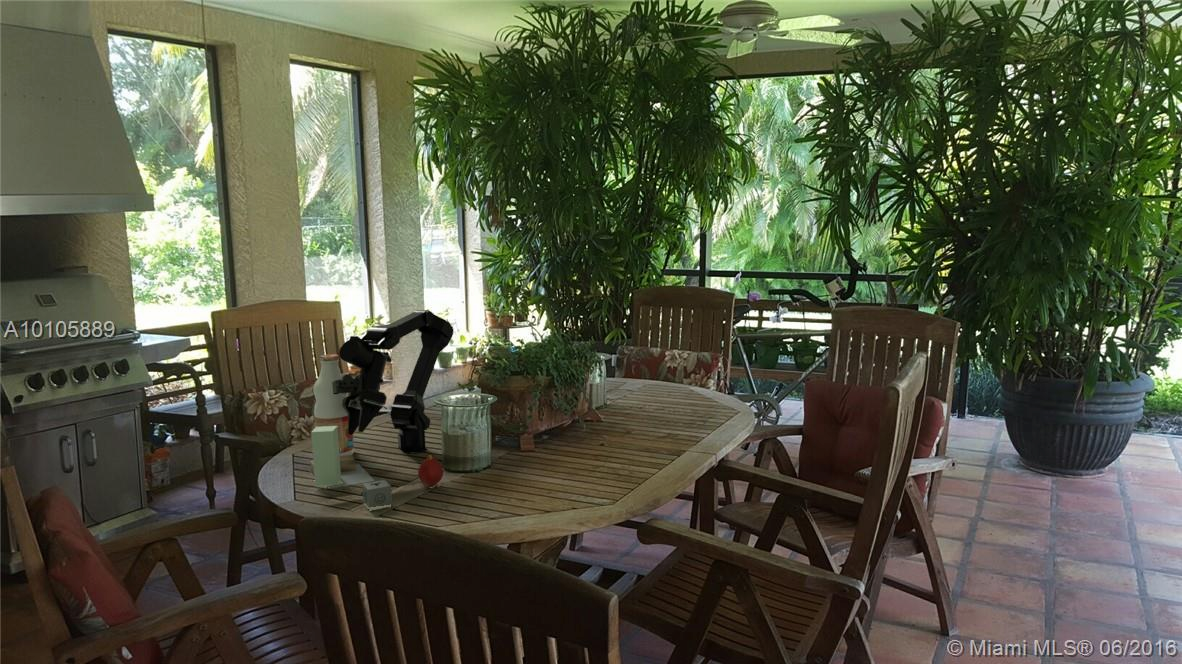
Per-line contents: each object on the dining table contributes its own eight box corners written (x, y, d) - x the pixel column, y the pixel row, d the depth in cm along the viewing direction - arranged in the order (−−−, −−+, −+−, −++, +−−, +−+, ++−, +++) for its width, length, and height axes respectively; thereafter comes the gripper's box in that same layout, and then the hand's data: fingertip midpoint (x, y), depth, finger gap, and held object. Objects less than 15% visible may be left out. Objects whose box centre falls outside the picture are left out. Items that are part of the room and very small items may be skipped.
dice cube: (385, 500, 188) (384, 479, 187) (391, 507, 183) (390, 485, 182) (363, 505, 185) (362, 483, 184) (369, 511, 181) (367, 489, 180)
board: (359, 468, 212) (358, 463, 212) (375, 485, 199) (374, 480, 198) (302, 477, 206) (301, 472, 206) (314, 495, 192) (314, 490, 192)
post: (341, 477, 201) (337, 425, 199) (336, 484, 196) (332, 431, 194) (319, 478, 200) (316, 426, 198) (314, 485, 195) (311, 431, 194)
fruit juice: (313, 457, 224) (306, 355, 220) (348, 451, 229) (341, 351, 225) (323, 465, 216) (316, 359, 212) (358, 459, 221) (352, 355, 217)
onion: (417, 485, 198) (415, 453, 197) (441, 482, 200) (439, 450, 199) (421, 492, 192) (419, 459, 191) (445, 489, 194) (444, 456, 193)
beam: (351, 466, 210) (351, 454, 210) (355, 470, 207) (354, 458, 207) (311, 472, 206) (310, 461, 205) (314, 477, 202) (313, 465, 202)
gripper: (330, 370, 215) (314, 428, 211) (350, 359, 200) (333, 422, 195) (371, 381, 220) (356, 438, 216) (394, 372, 205) (378, 433, 200)
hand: (355, 433), depth 206 cm, fingers open, 9 cm apart
